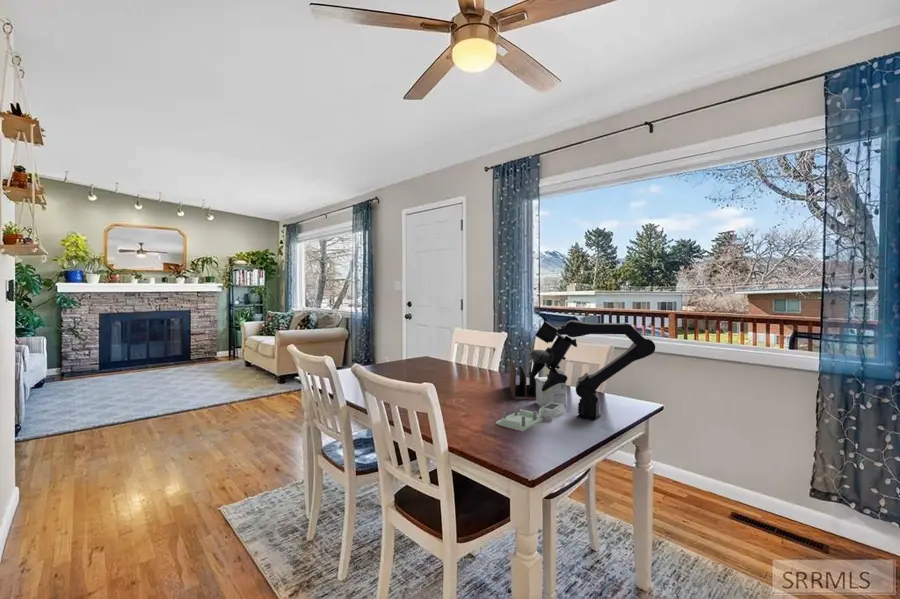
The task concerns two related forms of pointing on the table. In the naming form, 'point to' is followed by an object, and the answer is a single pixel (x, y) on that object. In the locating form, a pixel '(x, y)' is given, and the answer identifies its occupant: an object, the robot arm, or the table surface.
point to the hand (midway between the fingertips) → (536, 384)
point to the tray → (520, 419)
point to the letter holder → (521, 384)
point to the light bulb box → (550, 393)
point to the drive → (551, 411)
